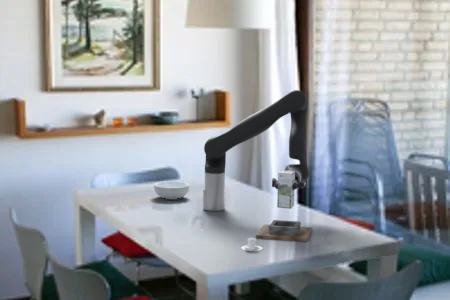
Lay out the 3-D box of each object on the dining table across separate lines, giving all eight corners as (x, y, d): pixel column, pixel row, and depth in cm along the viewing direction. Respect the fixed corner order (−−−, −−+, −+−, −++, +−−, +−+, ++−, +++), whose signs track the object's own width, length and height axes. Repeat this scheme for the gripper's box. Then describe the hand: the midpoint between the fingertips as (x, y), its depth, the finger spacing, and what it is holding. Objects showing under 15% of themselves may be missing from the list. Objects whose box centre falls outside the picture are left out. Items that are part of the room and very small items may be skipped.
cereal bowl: (150, 201, 348) (150, 186, 347) (159, 194, 364) (159, 180, 363) (184, 202, 345) (184, 188, 344) (192, 195, 362) (192, 181, 361)
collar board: (255, 238, 284) (256, 227, 283) (264, 227, 301) (264, 217, 301) (306, 241, 279) (307, 231, 279) (312, 230, 297) (312, 220, 296)
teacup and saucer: (251, 254, 263) (252, 243, 263) (235, 249, 269) (235, 239, 268) (266, 249, 270) (267, 238, 269) (250, 245, 275) (250, 234, 275)
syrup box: (294, 205, 291) (295, 170, 288) (290, 209, 285) (291, 172, 283) (280, 204, 292) (281, 169, 290) (276, 207, 287) (277, 171, 285)
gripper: (274, 169, 302) (267, 176, 286) (308, 171, 299) (303, 178, 283) (274, 187, 303) (267, 195, 287) (308, 189, 300) (303, 197, 284)
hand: (285, 187), depth 285 cm, fingers closed on syrup box, 6 cm apart
